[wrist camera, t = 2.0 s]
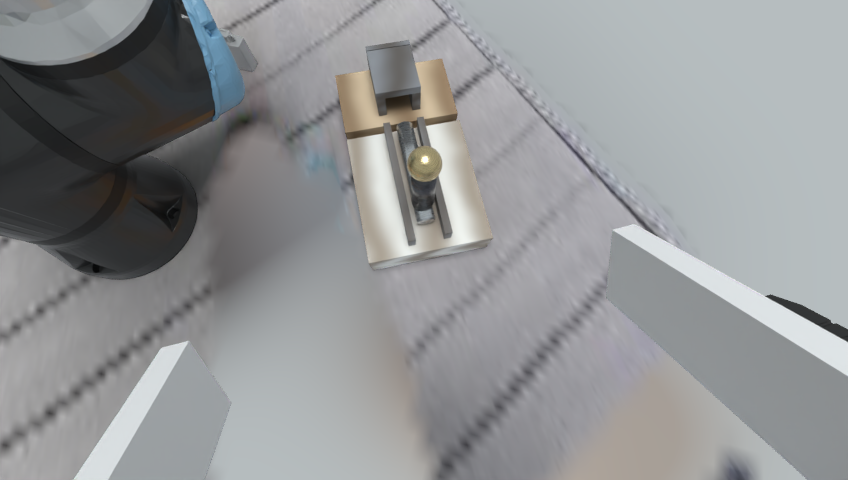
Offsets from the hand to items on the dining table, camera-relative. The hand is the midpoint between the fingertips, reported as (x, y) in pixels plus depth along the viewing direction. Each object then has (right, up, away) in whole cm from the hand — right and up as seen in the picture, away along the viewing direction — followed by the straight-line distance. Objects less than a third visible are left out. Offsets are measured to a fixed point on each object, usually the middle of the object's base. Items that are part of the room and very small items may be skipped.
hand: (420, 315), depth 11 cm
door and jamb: (-2, +12, +34) cm, 36 cm away
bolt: (-1, +10, +29) cm, 31 cm away
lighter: (-27, +28, +38) cm, 55 cm away
